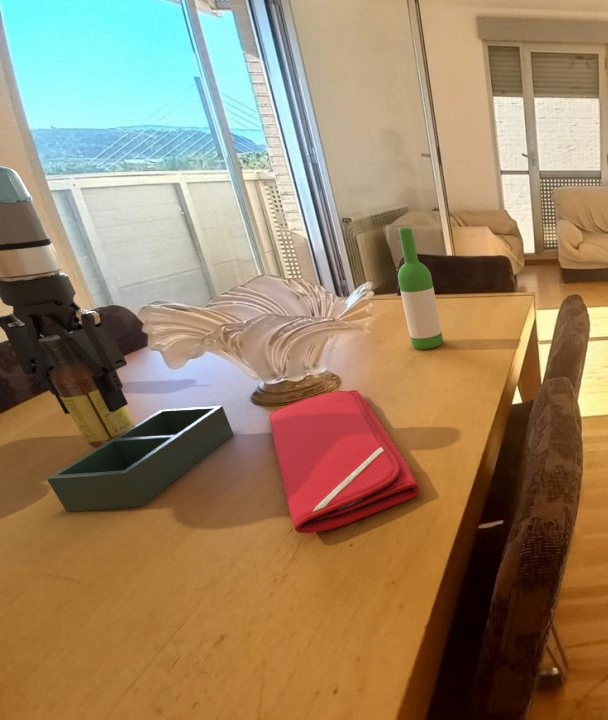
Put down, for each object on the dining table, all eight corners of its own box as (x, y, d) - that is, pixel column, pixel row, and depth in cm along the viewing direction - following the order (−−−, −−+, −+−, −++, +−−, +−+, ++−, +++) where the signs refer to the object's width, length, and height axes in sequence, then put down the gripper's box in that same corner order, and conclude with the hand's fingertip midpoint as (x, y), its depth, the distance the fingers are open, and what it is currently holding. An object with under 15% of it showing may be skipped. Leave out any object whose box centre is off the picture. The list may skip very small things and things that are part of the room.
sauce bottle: (138, 427, 88) (91, 325, 80) (139, 440, 84) (89, 334, 76) (87, 440, 83) (32, 335, 76) (85, 455, 79) (27, 345, 72)
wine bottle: (442, 338, 130) (421, 225, 118) (444, 347, 123) (423, 229, 111) (412, 343, 127) (387, 228, 115) (413, 352, 120) (387, 232, 109)
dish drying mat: (361, 396, 98) (357, 380, 97) (424, 495, 68) (419, 473, 67) (270, 422, 89) (264, 404, 88) (297, 547, 60) (288, 524, 58)
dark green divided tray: (66, 512, 67) (45, 478, 65) (174, 437, 85) (161, 409, 83) (142, 506, 68) (125, 473, 66) (233, 433, 86) (222, 405, 83)
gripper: (119, 268, 76) (174, 396, 85) (-12, 272, 75) (58, 401, 84) (73, 279, 69) (138, 416, 78) (-71, 283, 68) (12, 423, 77)
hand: (97, 408), depth 81 cm, fingers closed on sauce bottle, 6 cm apart
